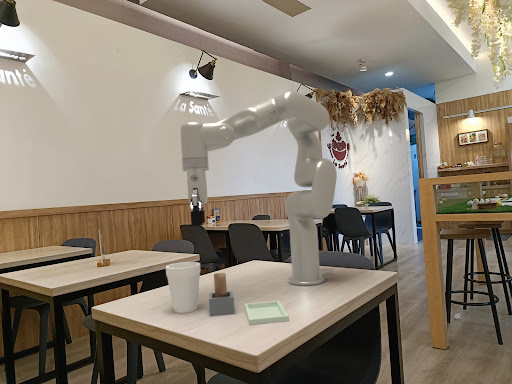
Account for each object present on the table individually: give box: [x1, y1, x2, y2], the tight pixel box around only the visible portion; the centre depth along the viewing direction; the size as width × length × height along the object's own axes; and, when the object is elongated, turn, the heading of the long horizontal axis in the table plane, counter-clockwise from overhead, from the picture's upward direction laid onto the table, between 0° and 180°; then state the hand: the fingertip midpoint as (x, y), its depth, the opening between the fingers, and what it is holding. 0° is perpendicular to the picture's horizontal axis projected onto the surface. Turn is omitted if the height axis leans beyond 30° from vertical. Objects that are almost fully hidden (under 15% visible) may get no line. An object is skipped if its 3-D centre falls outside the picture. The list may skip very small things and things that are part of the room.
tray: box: [244, 300, 290, 326], centre depth 99 cm, size 14×10×2 cm
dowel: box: [213, 272, 228, 298], centre depth 103 cm, size 3×3×10 cm
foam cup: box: [165, 261, 201, 314], centre depth 107 cm, size 10×9×13 cm
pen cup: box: [208, 290, 235, 317], centre depth 103 cm, size 6×6×5 cm
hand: (198, 224), depth 112 cm, fingers open, 9 cm apart
